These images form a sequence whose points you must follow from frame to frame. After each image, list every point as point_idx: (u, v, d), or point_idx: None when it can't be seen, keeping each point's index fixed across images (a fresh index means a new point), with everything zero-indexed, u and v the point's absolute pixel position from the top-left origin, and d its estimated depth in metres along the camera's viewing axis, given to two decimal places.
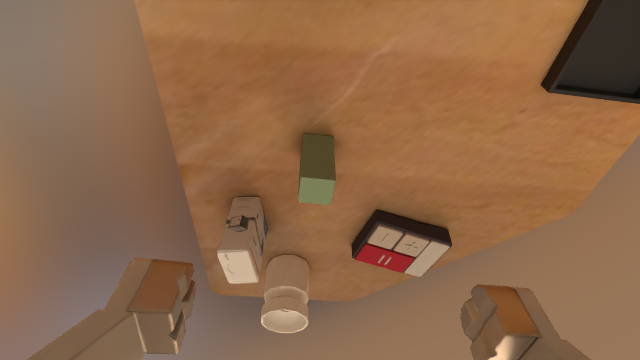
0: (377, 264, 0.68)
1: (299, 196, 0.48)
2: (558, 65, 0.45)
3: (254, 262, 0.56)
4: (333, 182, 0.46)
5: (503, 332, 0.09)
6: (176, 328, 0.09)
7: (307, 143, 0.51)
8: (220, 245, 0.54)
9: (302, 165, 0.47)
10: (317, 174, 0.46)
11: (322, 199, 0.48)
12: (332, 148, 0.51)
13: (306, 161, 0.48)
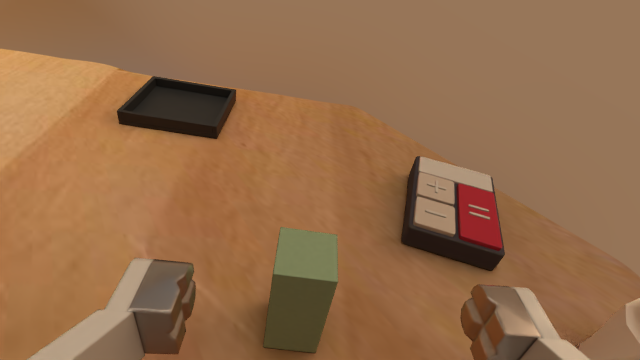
0: (494, 219, 0.43)
1: (322, 278, 0.25)
2: (194, 128, 0.53)
3: None
4: (284, 229, 0.28)
5: (503, 332, 0.09)
6: (176, 328, 0.09)
7: None
8: None
9: (270, 293, 0.26)
10: None
11: (324, 245, 0.27)
12: None
13: None
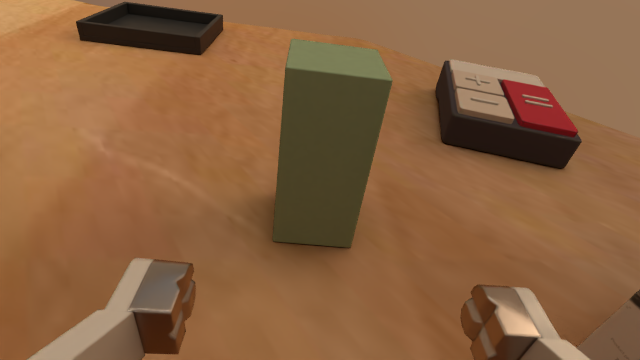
0: (558, 108, 0.34)
1: (366, 75, 0.15)
2: (172, 42, 0.43)
3: None
4: (297, 40, 0.18)
5: (503, 333, 0.09)
6: (176, 328, 0.09)
7: None
8: None
9: (282, 118, 0.16)
10: None
11: (361, 54, 0.18)
12: None
13: None
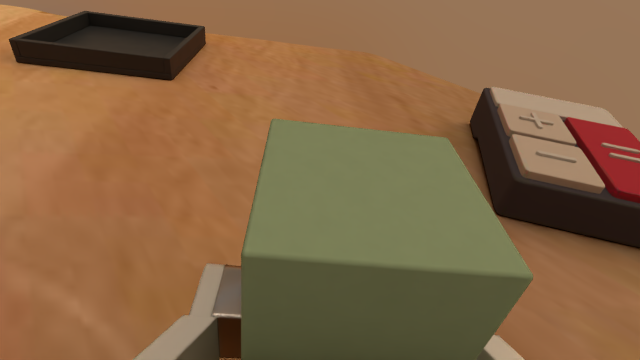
0: None
1: (464, 264, 0.06)
2: (135, 64, 0.34)
3: None
4: (285, 122, 0.09)
5: None
6: None
7: None
8: None
9: None
10: None
11: (423, 159, 0.08)
12: None
13: None
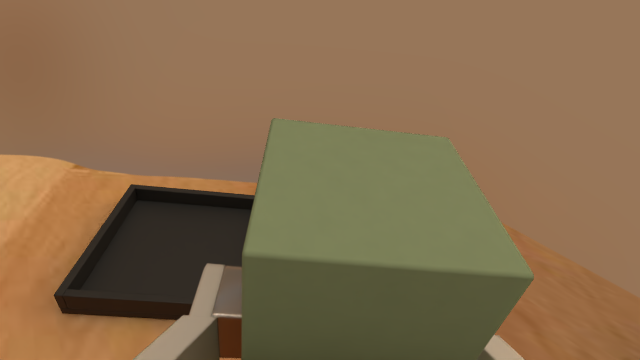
0: None
1: (465, 264, 0.06)
2: None
3: None
4: (285, 122, 0.09)
5: None
6: None
7: None
8: None
9: None
10: None
11: (423, 159, 0.08)
12: None
13: None
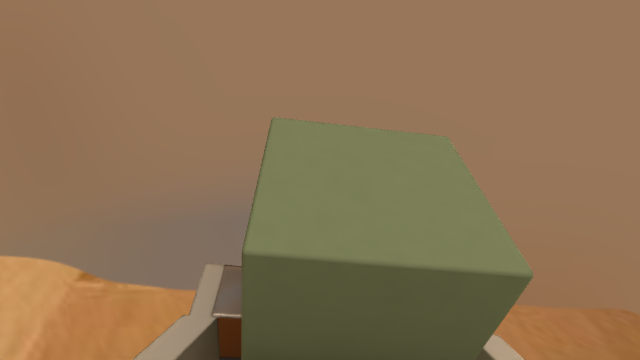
0: None
1: (464, 262, 0.06)
2: None
3: None
4: (285, 121, 0.09)
5: None
6: None
7: None
8: None
9: None
10: None
11: (423, 158, 0.08)
12: None
13: None
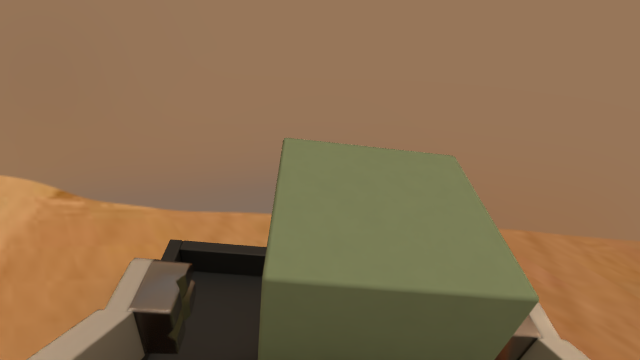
0: None
1: (473, 287, 0.06)
2: None
3: None
4: (297, 142, 0.09)
5: None
6: (176, 328, 0.09)
7: None
8: None
9: None
10: None
11: (431, 179, 0.08)
12: None
13: None
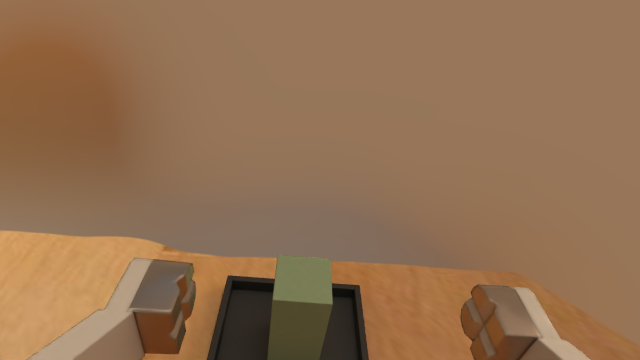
0: None
1: (318, 301, 0.27)
2: None
3: None
4: (281, 256, 0.30)
5: (503, 332, 0.09)
6: (176, 328, 0.09)
7: None
8: None
9: (271, 317, 0.28)
10: None
11: (319, 269, 0.29)
12: None
13: None
